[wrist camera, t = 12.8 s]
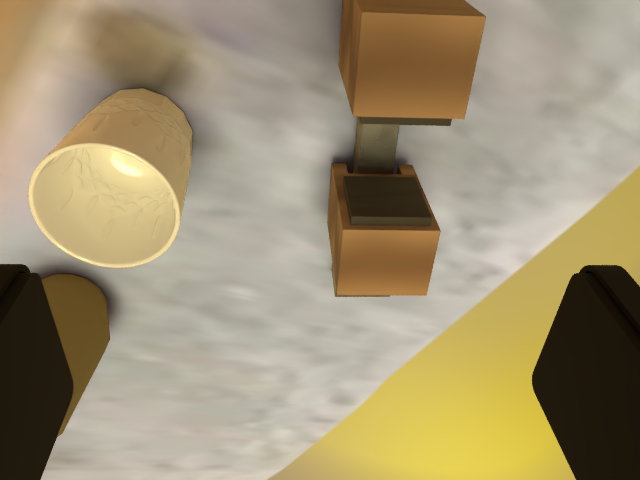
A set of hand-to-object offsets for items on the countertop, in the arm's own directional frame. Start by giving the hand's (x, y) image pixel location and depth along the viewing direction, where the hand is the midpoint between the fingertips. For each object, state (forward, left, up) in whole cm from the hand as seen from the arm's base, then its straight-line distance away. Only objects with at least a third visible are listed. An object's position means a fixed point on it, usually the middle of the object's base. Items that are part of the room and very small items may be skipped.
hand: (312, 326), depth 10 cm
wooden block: (+1, +6, -27) cm, 28 cm away
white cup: (+9, -10, -28) cm, 32 cm away
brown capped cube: (+13, +6, -27) cm, 31 cm away
